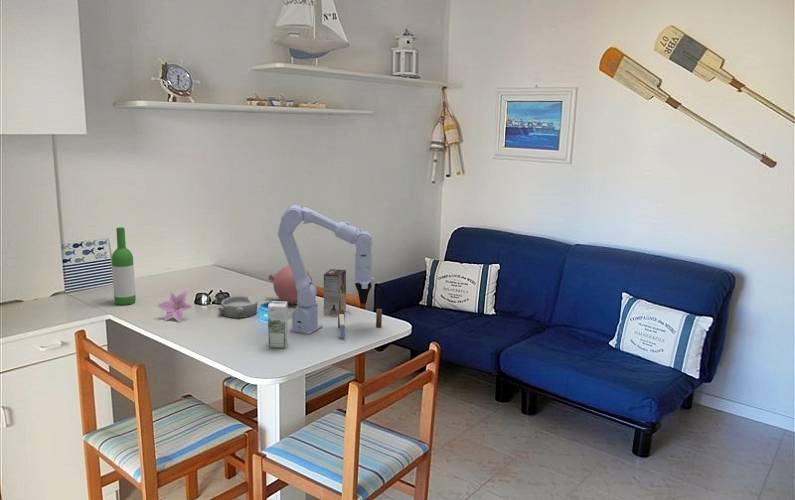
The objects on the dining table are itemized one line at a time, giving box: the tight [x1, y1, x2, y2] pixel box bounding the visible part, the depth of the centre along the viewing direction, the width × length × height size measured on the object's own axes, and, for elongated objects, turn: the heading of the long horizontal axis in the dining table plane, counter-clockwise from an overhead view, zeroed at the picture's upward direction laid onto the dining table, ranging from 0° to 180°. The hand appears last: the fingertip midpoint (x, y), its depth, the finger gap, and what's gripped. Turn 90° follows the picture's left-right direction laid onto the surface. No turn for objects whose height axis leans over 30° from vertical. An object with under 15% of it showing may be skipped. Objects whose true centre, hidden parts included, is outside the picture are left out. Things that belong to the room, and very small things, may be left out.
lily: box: [156, 290, 193, 323], centre depth 235 cm, size 12×12×10 cm
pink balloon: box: [268, 265, 313, 305], centre depth 257 cm, size 15×20×15 cm
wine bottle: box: [111, 226, 137, 306], centre depth 249 cm, size 8×8×30 cm
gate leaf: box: [339, 314, 346, 339], centre depth 222 cm, size 11×2×5 cm, turn 6°
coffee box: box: [323, 268, 347, 317], centre depth 245 cm, size 9×6×16 cm
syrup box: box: [267, 300, 289, 349], centre depth 209 cm, size 6×6×14 cm
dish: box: [217, 295, 258, 319], centre depth 243 cm, size 14×14×5 cm
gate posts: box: [337, 308, 383, 330], centre depth 230 cm, size 16×2×6 cm, turn 98°
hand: (363, 303), depth 227 cm, fingers closed
